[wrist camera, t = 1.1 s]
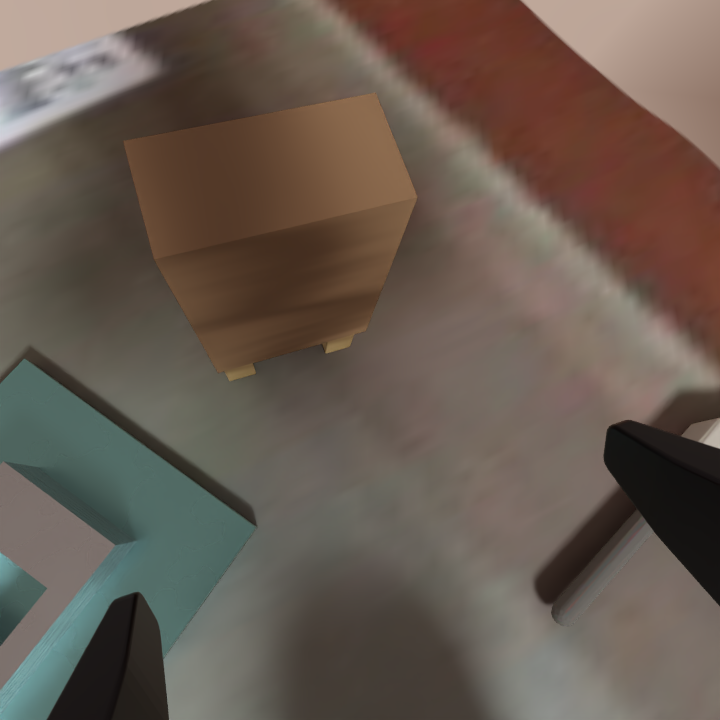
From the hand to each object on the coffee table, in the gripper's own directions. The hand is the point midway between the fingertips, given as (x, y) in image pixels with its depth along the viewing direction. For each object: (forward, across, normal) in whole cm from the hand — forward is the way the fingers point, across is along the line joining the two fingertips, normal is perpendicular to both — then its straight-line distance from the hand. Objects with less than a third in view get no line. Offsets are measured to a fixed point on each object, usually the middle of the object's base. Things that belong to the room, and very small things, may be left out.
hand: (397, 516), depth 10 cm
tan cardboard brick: (+15, 0, +4) cm, 16 cm away
